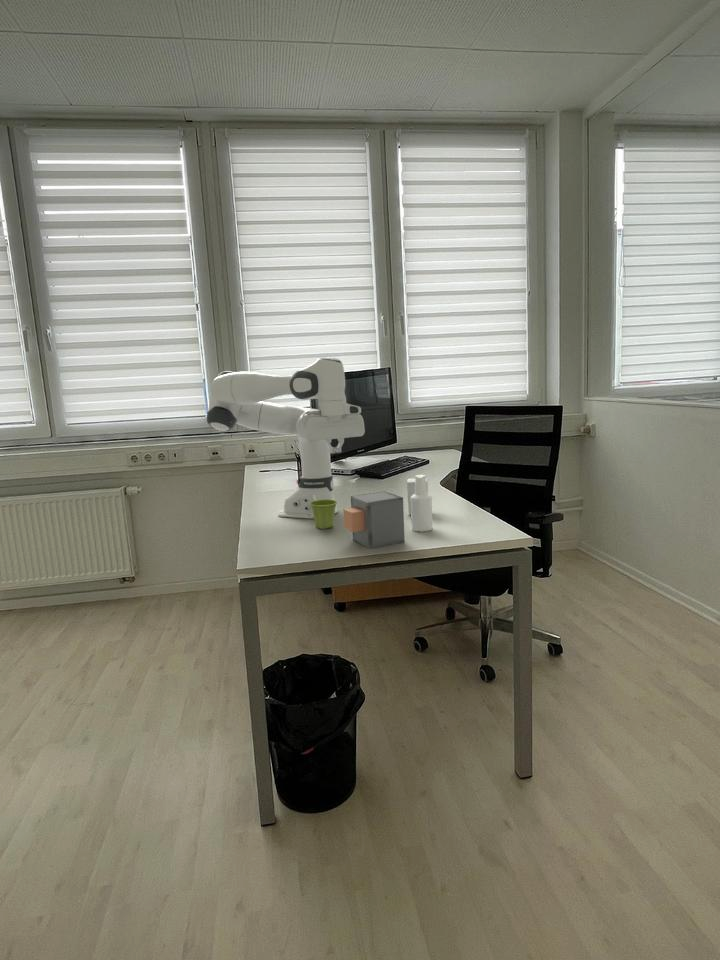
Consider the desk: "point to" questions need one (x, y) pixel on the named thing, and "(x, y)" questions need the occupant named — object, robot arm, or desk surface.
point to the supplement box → (411, 491)
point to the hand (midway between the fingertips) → (335, 452)
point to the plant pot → (323, 513)
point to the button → (354, 519)
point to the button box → (380, 519)
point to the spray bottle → (421, 506)
